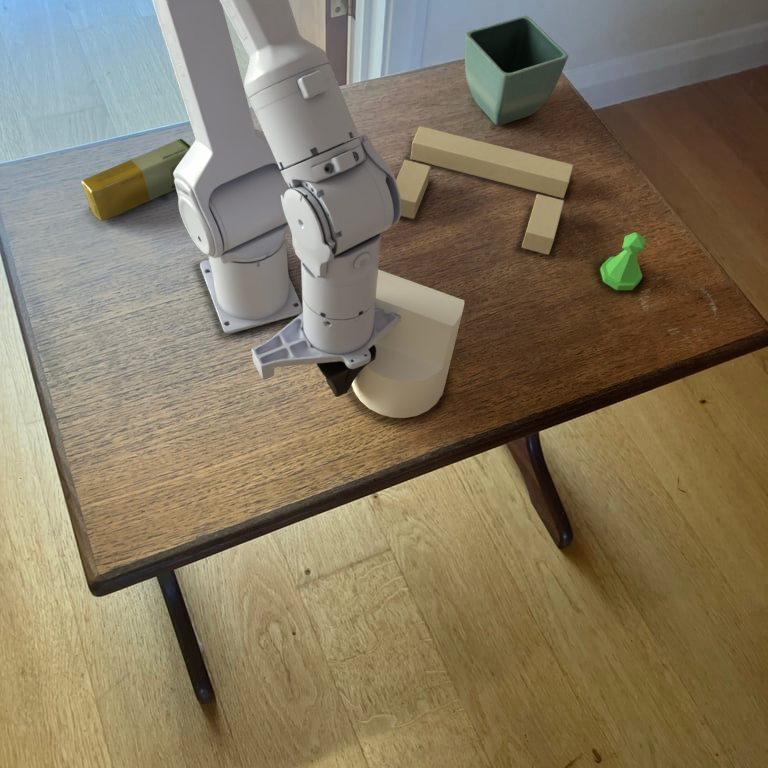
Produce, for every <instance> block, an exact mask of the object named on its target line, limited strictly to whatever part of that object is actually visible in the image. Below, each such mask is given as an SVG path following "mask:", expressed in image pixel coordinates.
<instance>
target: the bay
mask: <svg viewBox="0 0 768 768" xmlns="http://www.w3.org/2000/svg"><path fill="white" fill-rule="evenodd" d="M410 152H411V153H410V160H408V159H404V161H403V163H402V165H401V168H400V170H399V172H398V175H397V177H396V178H395V180H396V183H397V186H398V189H399V193H400V197H401V204H402V211H401V217H403V218H408V219H412V220H415V218H416V216H417V213H418V210H419V207H420V205H421V203H422V200H423V198H424V195H425V192H426V190H427V188H428V185H429V182H430V175H431V168H432V167H431V166H430V165H432V166H436V167H440V168H444V169H448V170H451V171H456V172H459V173H463V174H467V175H470V176H475V177H477V178H478V177H479V178H483V179H487V180H490V181H494V182H498V183H501V184H505V185H509V186H514V187H518V188H522V189H525V190H529V191H533V192H537V194H536V196H535V200H534V203H533V206H532V209H531V213H530V216H529V221H528V224H527V227H526V229H525V230H526V231H525V234H524V237H523V241H522V245H521V248H522V249H525V250H528V251H532V252H535V253H539V254H544V255H550V252H551V250H552V247H553V244H554V241H555V237H556V233H557V231H558V226H559V222H560V218H561V214H562V210H563V207H564V202H565V201H564V200H563V199H564V198H565V195H566V192H567V189H568V187H569V184H570V180H571V175H572V172H573V169H574V164H572V163H568V162H565V161H560V160H556V159H552V158H548V157H545V156H540V155H538V154H537V155H536V154H533V153H528V152H525V151H521V150H517V149H513V148H508V147H506V146H505V147H504V146H501V145H498V144H493V143H488V142H484V141H481V140H477V139H473V138H469V137H464V136H462V135H461V136H460V135H457V134H453V133H449V132H445V131H442V130H437V129H433V128H429V127H426V126H421V125H419V126H418V128H417V131H416V133H415V135H414V137H413V140H412V143H411V151H410ZM415 161H417V162H415ZM419 162H421V163H419ZM427 164H428V165H427ZM539 193H541V194H539ZM544 194H545V195H544ZM547 195H548V196H547ZM551 196H552V197H551Z"/></svg>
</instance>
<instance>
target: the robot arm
mask: <svg viewBox="0 0 768 768" xmlns="http://www.w3.org/2000/svg"><path fill="white" fill-rule="evenodd" d="M151 2H152V5H153V8H154V11H155V15H156V18H157V22H158V24H159V28H160V30H161V31H160V32H161V34H162V37H163V39H164V43H165V46H166V50H167V53H168V56H169V59H170V62H171V66H172V68H173V72H174V76H175V78H176V81H177V82H176V83H177V85H178V88H179V92H180V94H181V98H182V101H183V104H184V107H185V111H186V113H187V117H188V119H189V123H190V125H191V129H192V132H193V135H194V138H195V139H194V141H193V143H192V145H190V146H191V147H190V149H189V150H188V152H187V153H186V154H185V156H184V157H183V159H182V160H181V161H180V163H179V164H178V166H177V167H176V169H175V171H174V173H173V175H174V178H175V180H174V183H175V186H176V189H175V190H176V193H177V199H178V210H179V214H180V217H181V219H182V222H183V225H184V227H185V229H186V231H187V233H188V235H189V237H190V239H191V240H192V241H193V243H194V245H195V246H196V247H197V248H198V249H199V251H200V252H201V253H203V254H204V255H206V256H208V259H206V260H202V261H200V263H199V267H200V271H201V273H202V276H203V279H204V281H205V283H206V287H207V289H208V292H209V295H210V297H211V300H212V303H213V306H214V309H215V311H216V314H217V316H218V319H219V322H220V325H221V328H222V330H223V332H224V333H225V334H227V335H229V334H234V333H237V332H240V331H244V330H248V329H252V328H255V327H259V326H263V325H267V324H270V323H274V322H277V321H281V320H285V319H289V318H292V317H295V316H296V317H295V318H294V319H293V320H291V321H290V322H289V323H287V324H286V325H285V326H284V327H283V328H281V330H279V331H278V332H277V333H275V334H274V335H273V336H271V338H269V339H268V340H266V341H265V342H263V343H260V344H259V345H257V346H254V347H253V348H251V356H252V363H253V366H254V367H255V368H256V370H257V372H258V374H259V376H260V378H261V379H262V380H263V381H265V380H267V379H270V378H272V377H274V376H275V369H277V368H282V367H283V368H284V367H291V366H293V367H294V366H302V365H303V366H304V365H315V364H316V367H318V369H319V371H320V373H321V374H322V375H323V377H324V378H325V380H326V383H327V385H328V386H329V388H330V390H331V391H332V393H333V395H334V397H336V398H338V397H341V396H343V395H345V394H347V393H348V392H349V390H350V388H351V387H352V383H353V381H354V379H355V378H356V376H357V375H358V373H359V372H360V371H361V370H362V369H363V368H364V367H365V366H366V365H367V364H369V363H370V362H372V361H373V360H375V357H376V347H375V345H374V344H375V343H376V342H377V341H378V340H379V339H381V338H382V337H383V336H384V335H385V334H386V333H387V332H388V331H390V330H391V329H392V328H393V327H394V326H395V325H396V324H397V323H399V322H400V321H401V315H395V314H394V313H392V312H390V314H386V313H385V312H384V309H381V308H377V309H375V302H376V290H377V278H378V269H379V267H380V266H379V265H380V253H381V241H382V233H384V232H385V231H387V230H389V229H390V228H391V226H394V225H396V224H397V223H398V222H400V219H401V217H402V216H401V211H402V204H401V197H400V193H399V189H398V186H397V183H396V176H395V175H394V172H393V171H392V169H391V167H390V165H389V164H388V162H386V160H385V159H384V157H383V156H382V155H381V154H380V153H379V152H378V151H377V150H376V149H375V147H374V145H373V143H372V140H371V139H370V138H369V137H368V135H367V134H366V133H365V134H362V135H360V134H359V131H358V129H357V127H356V125H355V123H354V120H353V118H352V114H351V112H350V110H349V107H348V105H347V103H346V100H345V98H344V95H343V92H342V90H341V87H340V85H339V83H338V79H337V78H336V75H335V72H334V70H333V68H332V66H331V63H330V60H329V57H328V55H327V53H326V51H325V50H324V49H322V48H321V47H320V46H317V45H316V44H315V43H313V42H310V41H309V40H307V39H306V38H304V37H303V36H301V34H300V31H299V28H298V25H297V23H296V19H295V16H294V13H293V10H292V7H291V3H290V1H289V0H151ZM225 14H226V15H225ZM226 16H227V17H228V19H229V22H230V23H231V26H232V27H233V30H234V31H235V32H236V35H237V36H238V38H239V40H240V42H241V45H242V46H243V48H244V50H245V52H246V53H247V55H248V58H249V59H248V60H249V61H248V66H247V70H246V72H245V73H246V74H245V77H244V81H243V79H242V75H241V72H240V67H239V64H238V60H237V55H236V52H235V49H234V45H233V40H232V37H231V34H230V30H229V27H228V23H227V19H226V18H227V17H226ZM248 101H249V102H250V105H251V107H252V109H253V112H254V114H255V116H256V118H257V122H258V123H259V126H260V127H261V130H260V129H257V128H255V124H254V120H253V117H252V113H251V109H250V106H249V102H248ZM293 164H294V165H293ZM289 234H291V239H292V247H293V249H294V253H295V255H296V256H297V258H298V259H299V260H300V269H301V270H300V271H301V273H300V274H301V297H302V299H301V300H302V303H301V301H300V299H299V296H298V294H297V291H296V289H295V287H294V285H293V282H292V280H291V278H290V276H289V262H288V247H287V236H288V235H289Z"/></svg>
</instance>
